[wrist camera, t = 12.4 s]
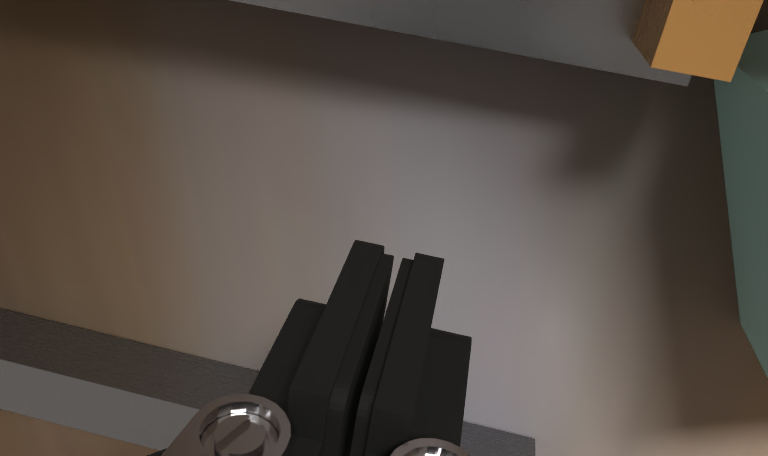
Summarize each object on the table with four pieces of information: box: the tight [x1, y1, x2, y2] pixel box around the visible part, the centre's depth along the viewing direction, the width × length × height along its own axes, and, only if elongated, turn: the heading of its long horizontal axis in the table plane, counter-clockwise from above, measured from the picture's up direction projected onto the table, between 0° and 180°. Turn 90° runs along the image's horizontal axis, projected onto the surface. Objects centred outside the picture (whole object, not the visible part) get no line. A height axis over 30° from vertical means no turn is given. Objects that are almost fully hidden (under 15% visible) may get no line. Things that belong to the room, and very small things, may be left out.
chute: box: [0, 0, 763, 456], centre depth 16 cm, size 15×22×4 cm
